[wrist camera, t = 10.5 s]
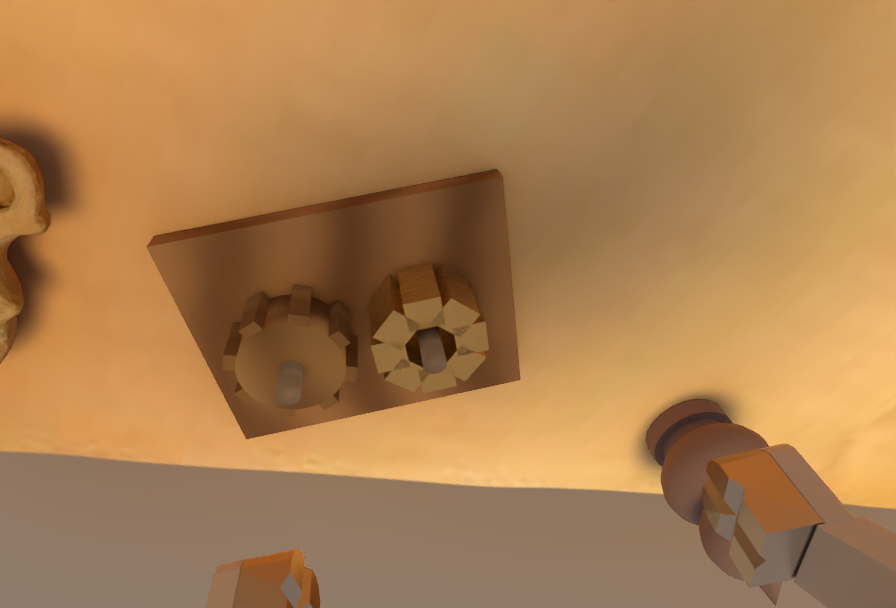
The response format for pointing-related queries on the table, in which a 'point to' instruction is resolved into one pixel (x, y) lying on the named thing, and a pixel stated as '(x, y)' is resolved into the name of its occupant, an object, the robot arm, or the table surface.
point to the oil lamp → (17, 227)
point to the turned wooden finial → (700, 468)
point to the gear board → (336, 297)
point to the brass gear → (426, 326)
